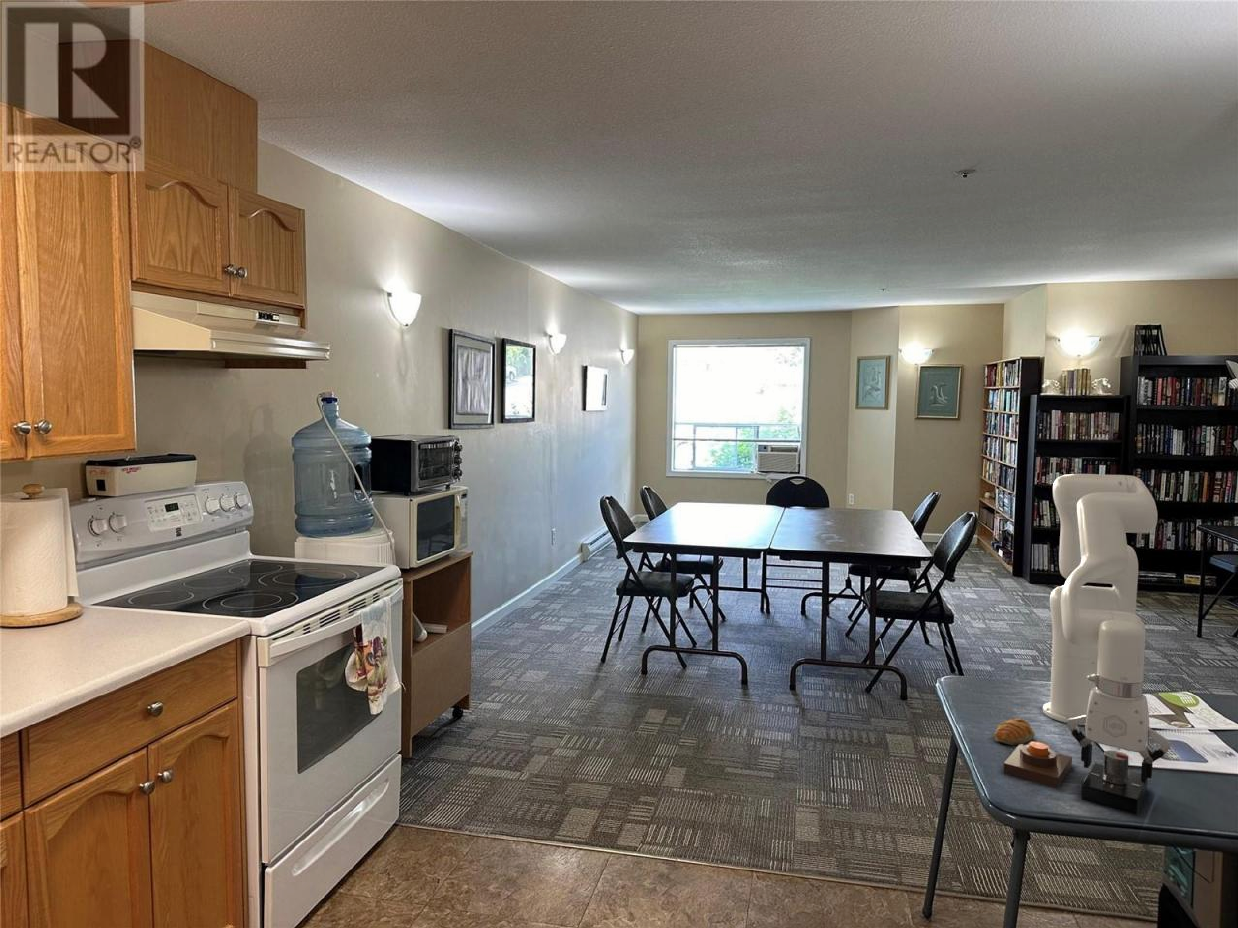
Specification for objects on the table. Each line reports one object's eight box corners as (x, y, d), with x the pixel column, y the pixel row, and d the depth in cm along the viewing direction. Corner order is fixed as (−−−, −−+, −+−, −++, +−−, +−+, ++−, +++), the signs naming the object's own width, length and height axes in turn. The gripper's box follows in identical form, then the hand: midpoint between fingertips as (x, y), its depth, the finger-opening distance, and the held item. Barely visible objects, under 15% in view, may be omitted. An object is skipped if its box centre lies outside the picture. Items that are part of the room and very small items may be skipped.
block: (1019, 753, 176) (1020, 735, 175) (1071, 766, 169) (1072, 748, 169) (1003, 773, 167) (1004, 754, 166) (1057, 788, 160) (1058, 768, 160)
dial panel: (1094, 776, 165) (1095, 761, 164) (1146, 790, 159) (1147, 774, 159) (1081, 799, 156) (1082, 783, 155) (1136, 815, 150) (1137, 798, 150)
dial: (1101, 780, 157) (1102, 754, 156) (1105, 773, 160) (1106, 746, 159) (1125, 786, 154) (1127, 759, 154) (1128, 778, 157) (1130, 752, 157)
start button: (1031, 747, 170) (1031, 739, 170) (1050, 752, 168) (1050, 744, 168) (1026, 753, 167) (1026, 745, 167) (1045, 758, 165) (1046, 750, 165)
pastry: (1016, 750, 177) (1016, 733, 177) (986, 740, 182) (986, 723, 182) (1036, 738, 183) (1036, 722, 183) (1006, 729, 188) (1006, 713, 188)
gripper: (1064, 681, 158) (1060, 766, 160) (1171, 702, 147) (1166, 794, 148) (1073, 671, 164) (1069, 753, 165) (1176, 691, 153) (1172, 779, 154)
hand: (1115, 772), depth 157 cm, fingers open, 9 cm apart
